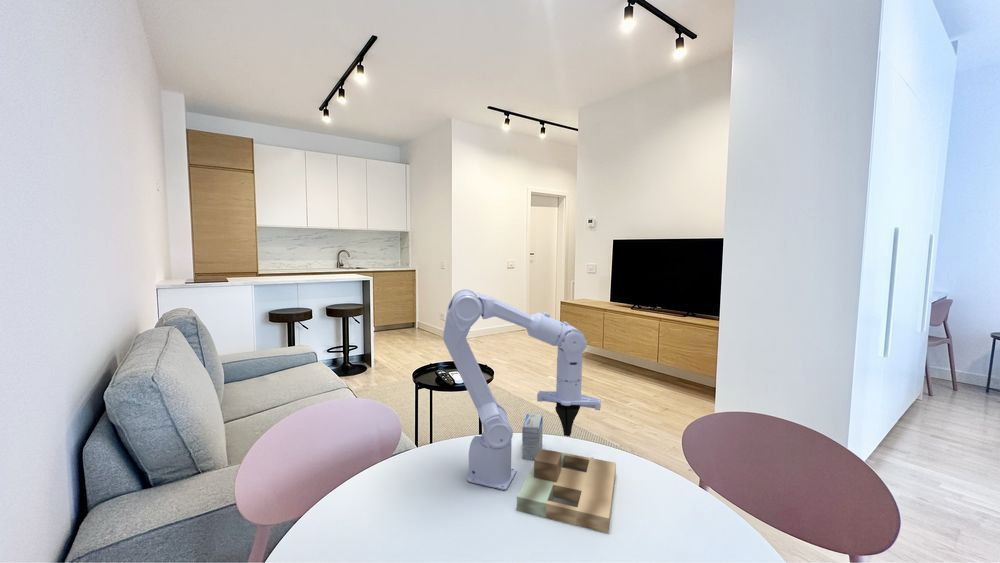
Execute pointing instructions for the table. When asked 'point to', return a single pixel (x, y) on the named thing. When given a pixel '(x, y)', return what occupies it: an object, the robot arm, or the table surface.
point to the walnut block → (547, 465)
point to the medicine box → (532, 436)
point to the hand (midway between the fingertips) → (567, 434)
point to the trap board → (572, 493)
